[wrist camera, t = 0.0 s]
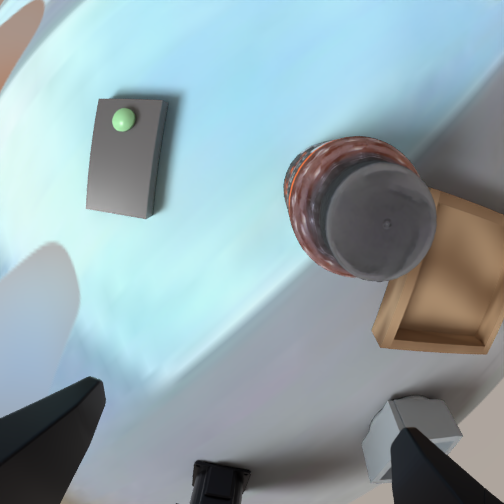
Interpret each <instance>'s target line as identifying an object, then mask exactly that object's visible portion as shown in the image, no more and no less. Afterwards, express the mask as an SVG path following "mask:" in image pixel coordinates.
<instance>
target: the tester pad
mask: <svg viewBox="0 0 504 504" xmlns="http://www.w3.org/2000/svg"><path fill="white" fill-rule="evenodd" d="M167 108H168V103H167V102H165V101H163V100H148V99H99V101H98V106H97V112H96V118H95V124H94V131H93V138H92V145H91V153H90V162H89V172H88V184H87V198H86V209H90V210H96V211H102V212H108V213H114V214H120V215H125V216H131V217H137V218H143V219H147V218H149V217H151V216H152V215H153V205H154V196H155V187H156V179H157V171H158V164H159V157H160V150H161V144H162V137H163V131H164V125H165V119H166V114H167Z"/></svg>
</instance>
